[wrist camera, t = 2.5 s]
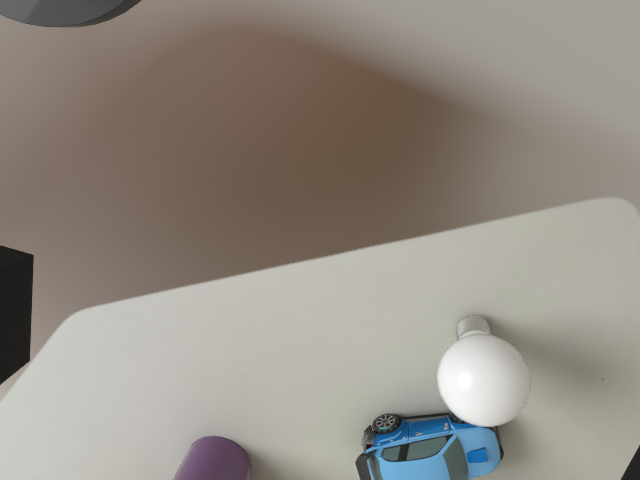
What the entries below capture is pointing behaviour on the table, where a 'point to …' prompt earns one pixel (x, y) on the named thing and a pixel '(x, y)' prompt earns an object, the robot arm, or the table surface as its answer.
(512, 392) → the lightbulb
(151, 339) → the table surface
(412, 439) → the toy car
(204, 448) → the jar
